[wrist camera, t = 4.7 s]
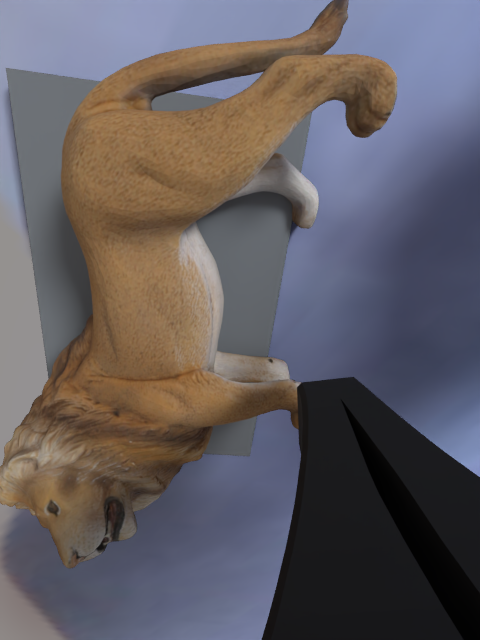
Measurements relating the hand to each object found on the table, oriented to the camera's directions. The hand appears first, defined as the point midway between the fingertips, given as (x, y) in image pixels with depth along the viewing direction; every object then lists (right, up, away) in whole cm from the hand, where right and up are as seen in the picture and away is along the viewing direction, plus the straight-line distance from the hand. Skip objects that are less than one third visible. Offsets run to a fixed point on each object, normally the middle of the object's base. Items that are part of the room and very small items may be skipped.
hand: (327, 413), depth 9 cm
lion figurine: (0, +2, +2) cm, 3 cm away
